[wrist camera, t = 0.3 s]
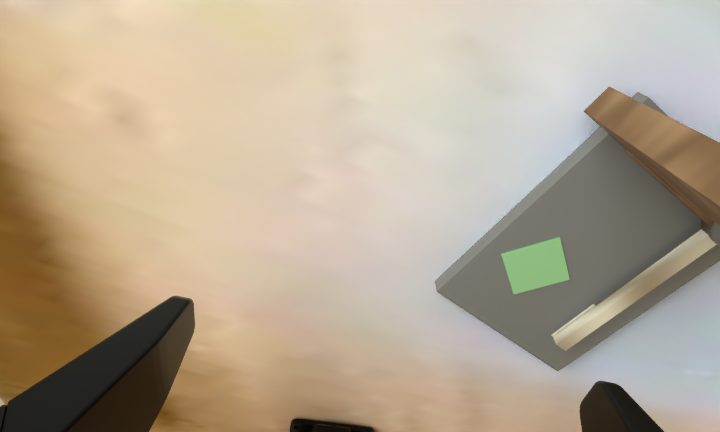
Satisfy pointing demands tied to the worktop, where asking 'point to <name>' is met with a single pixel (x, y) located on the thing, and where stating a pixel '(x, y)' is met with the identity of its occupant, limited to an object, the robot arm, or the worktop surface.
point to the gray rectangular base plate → (575, 250)
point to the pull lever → (676, 173)
